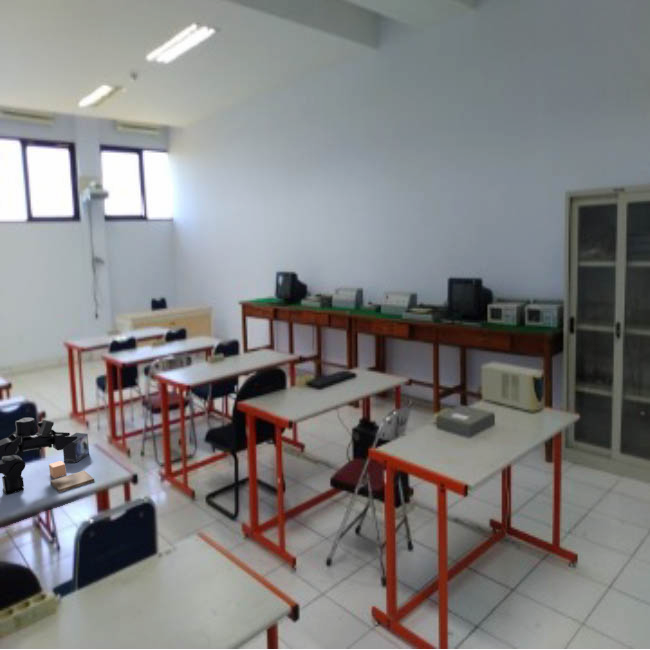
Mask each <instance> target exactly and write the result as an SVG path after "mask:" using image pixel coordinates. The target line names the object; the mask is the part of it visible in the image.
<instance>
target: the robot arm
mask: <svg viewBox="0 0 650 650" xmlns="http://www.w3.org/2000/svg"><path fill="white" fill-rule="evenodd" d="M14 422H15V423H14V425H15V431H13V432H12V433H11V434H10V435H8V436H7V437H5V438H2V439H0V457H1V459H0V474H1V475H3V476H1V479H2V487H3V488H2V491H3V493H4V494H5V495H10V494H14V493H19V492H20V491H24V490H25V489H24V486H25V484H24V477H23V476H22V473H23V472H24V470H25V468H26V462H25V461H24V459H22V458H23V457H24V452H26V451H27V452H28V451H32V450H42V449H43V448H48V449H51V448H53V449H55V451H63V448H64V447H66V446H67V445H68V444H70V443H71V442H73V441H75V440H76V439H77V436H71V433H70V432H64V431H62V432H59V431H55V430H54V429H53V427H54V421H51V420H47V419H42V421H38V422H37V425H36V426H37V427H38V428H39V432H36V433H35V418H33V417H22V418H19V420H15V421H14ZM34 433H35V434H34Z"/></svg>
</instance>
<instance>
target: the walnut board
mask: <svg viewBox="0 0 650 650" xmlns="http://www.w3.org/2000/svg"><path fill="white" fill-rule="evenodd" d="M49 481H50V484H51V485H52V486H53V488H55V490H56V491H57V492H58V493H61V492H65V491H68V490H71V489H74V488H77V487H80V486H83V485H87V484H89V483H90V484H91V483H93V482H95V478H94V477H93V476H92V475H90V474H89V473H88V472H87V471H86V470H85V469H84V470H82V471H79V472H78V471H77V472H75V473H71V474H68V475H64V476H60V477H57V478H53V479H51V480H49Z"/></svg>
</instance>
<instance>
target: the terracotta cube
mask: <svg viewBox="0 0 650 650" xmlns="http://www.w3.org/2000/svg"><path fill="white" fill-rule="evenodd" d="M48 467H49V475H50V477H52V479H58V478H61V477H64V476H67V470H66V464H65V462H64V461H62V460H58V461H55V462H52V463H49V464H48Z"/></svg>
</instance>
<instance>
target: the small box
mask: <svg viewBox="0 0 650 650" xmlns="http://www.w3.org/2000/svg"><path fill="white" fill-rule="evenodd" d="M70 436H77V439H76V440H75V441H73V442H71V443H70V444H68V445H67V446H66V447H64V448H63V450H62V452H63V454H62V455H63V463H70V464H77V463H78V462H80V461H81V460H83V459H84V458H86V457H87V456H89V455H90V448H89V435H88V433H82V432H75V433H73V434H70Z"/></svg>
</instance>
